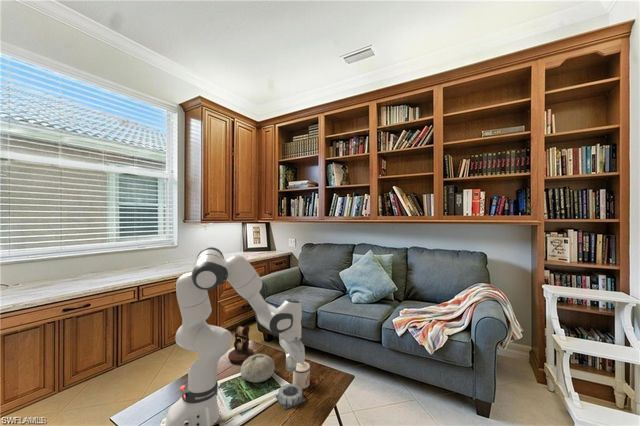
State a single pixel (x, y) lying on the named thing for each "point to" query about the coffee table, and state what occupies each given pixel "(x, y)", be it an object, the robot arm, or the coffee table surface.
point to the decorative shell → (257, 368)
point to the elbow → (289, 363)
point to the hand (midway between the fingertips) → (291, 363)
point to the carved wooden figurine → (241, 345)
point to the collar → (290, 396)
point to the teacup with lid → (302, 375)
